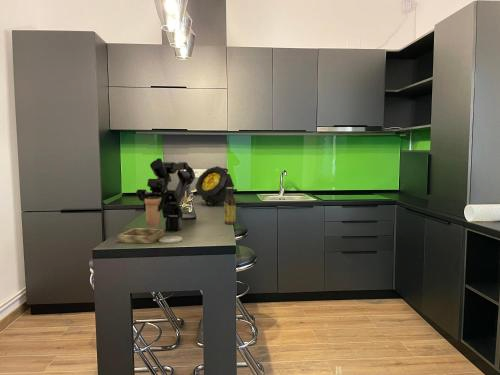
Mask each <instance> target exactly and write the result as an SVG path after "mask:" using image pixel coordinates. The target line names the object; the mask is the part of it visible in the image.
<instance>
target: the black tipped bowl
mask: <svg viewBox="0 0 500 375" xmlns="http://www.w3.org/2000/svg"><path fill="white" fill-rule="evenodd" d="M228 172H229V169H228V168H226V167H224V168H223V167H220V166H217V165H216V166H213V167H210V168H207V169H205V170H204V172H202V173H201V174H200V175H199V176H198V179H197V181H196V182H195V183H196V184H195V190H196V194H197V195H199V196H201V199H202V200H203V201H204V202H205V205H206V206H208V207H211V206H213V205H218V204H222V203H224V201H225V198H226V194H227V191H226V188H228V187H232V188H234V191H233V193H235V192H238V189H237V188H236V189H235V185H234V182H233V179H232V176H231V174H229V173H228Z"/></svg>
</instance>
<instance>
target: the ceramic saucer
mask: <svg viewBox="0 0 500 375" xmlns="http://www.w3.org/2000/svg"><path fill="white" fill-rule="evenodd" d="M182 240H183V237H182V236H178V235H169V236H168V235H167V236H163V237H161V238H159V239H158V242H159V243H163V244H175V243H179V242H180V243H181V241H182Z"/></svg>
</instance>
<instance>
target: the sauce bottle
mask: <svg viewBox="0 0 500 375" xmlns="http://www.w3.org/2000/svg"><path fill="white" fill-rule="evenodd" d="M234 189H235V187H234V188H232V187H228V188H226V191H227V194H226V198H225V201H224V202H223V204H224V206H223V210H224V212H223V213H224V216H223V219H224V223H225V224H226V225H234V224H236V215H237V214H236V210H237V209H236V208H237V206H236V205H237V204H236V198H235V197H234Z"/></svg>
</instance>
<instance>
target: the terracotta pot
mask: <svg viewBox="0 0 500 375" xmlns="http://www.w3.org/2000/svg"><path fill="white" fill-rule="evenodd" d="M160 202H161V198H157V197H150V198H145V204H146V211H145V221H146V222H145V223H146V227H149V228H150V227H151V228H152V227H159V226H161V210H160V211H158V207H159V205H160Z"/></svg>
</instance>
